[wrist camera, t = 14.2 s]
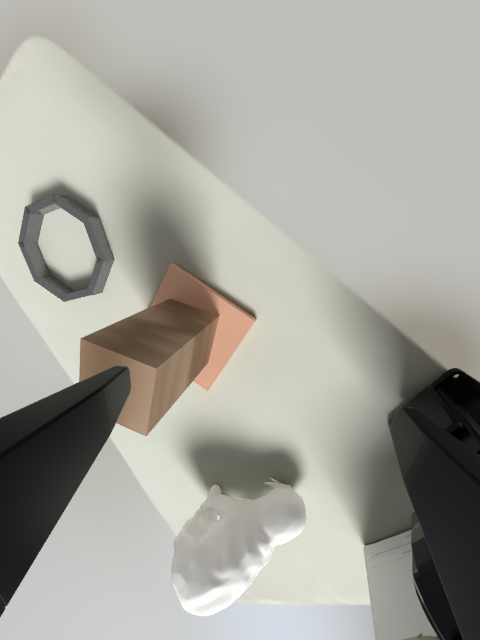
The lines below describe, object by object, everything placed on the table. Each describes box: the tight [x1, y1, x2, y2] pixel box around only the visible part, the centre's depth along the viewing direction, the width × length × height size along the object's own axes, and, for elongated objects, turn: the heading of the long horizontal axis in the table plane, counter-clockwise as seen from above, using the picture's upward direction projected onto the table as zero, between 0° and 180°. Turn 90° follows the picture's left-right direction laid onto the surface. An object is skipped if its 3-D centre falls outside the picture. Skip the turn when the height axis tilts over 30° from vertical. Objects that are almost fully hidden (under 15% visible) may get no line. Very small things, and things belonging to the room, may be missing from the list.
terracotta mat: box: [150, 263, 256, 391], centre depth 23 cm, size 8×8×1 cm
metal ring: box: [18, 194, 114, 302], centre depth 23 cm, size 8×8×1 cm
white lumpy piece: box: [171, 477, 306, 616], centre depth 23 cm, size 6×8×12 cm
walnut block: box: [79, 299, 219, 436], centre depth 18 cm, size 4×4×9 cm
